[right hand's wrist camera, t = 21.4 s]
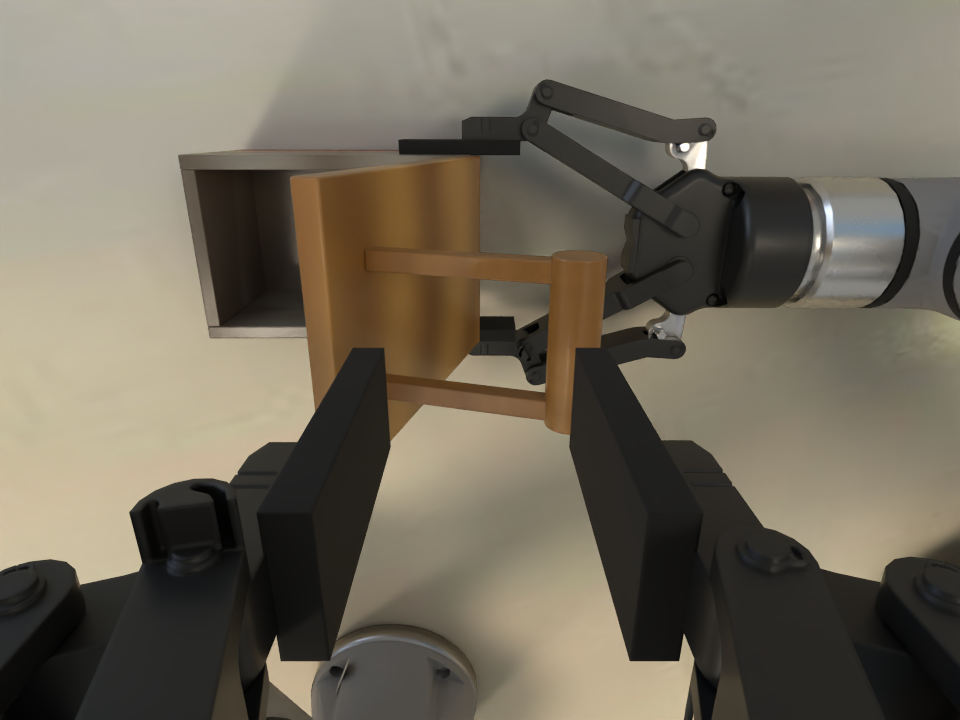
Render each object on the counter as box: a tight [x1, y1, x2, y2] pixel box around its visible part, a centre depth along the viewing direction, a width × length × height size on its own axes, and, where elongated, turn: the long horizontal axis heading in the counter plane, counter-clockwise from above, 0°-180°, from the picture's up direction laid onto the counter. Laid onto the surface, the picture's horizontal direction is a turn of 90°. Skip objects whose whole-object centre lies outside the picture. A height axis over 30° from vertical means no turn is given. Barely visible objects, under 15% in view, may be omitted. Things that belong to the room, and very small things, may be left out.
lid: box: [290, 156, 608, 441], centre depth 24 cm, size 16×10×8 cm
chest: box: [178, 150, 472, 338], centre depth 36 cm, size 15×10×9 cm, turn 90°
